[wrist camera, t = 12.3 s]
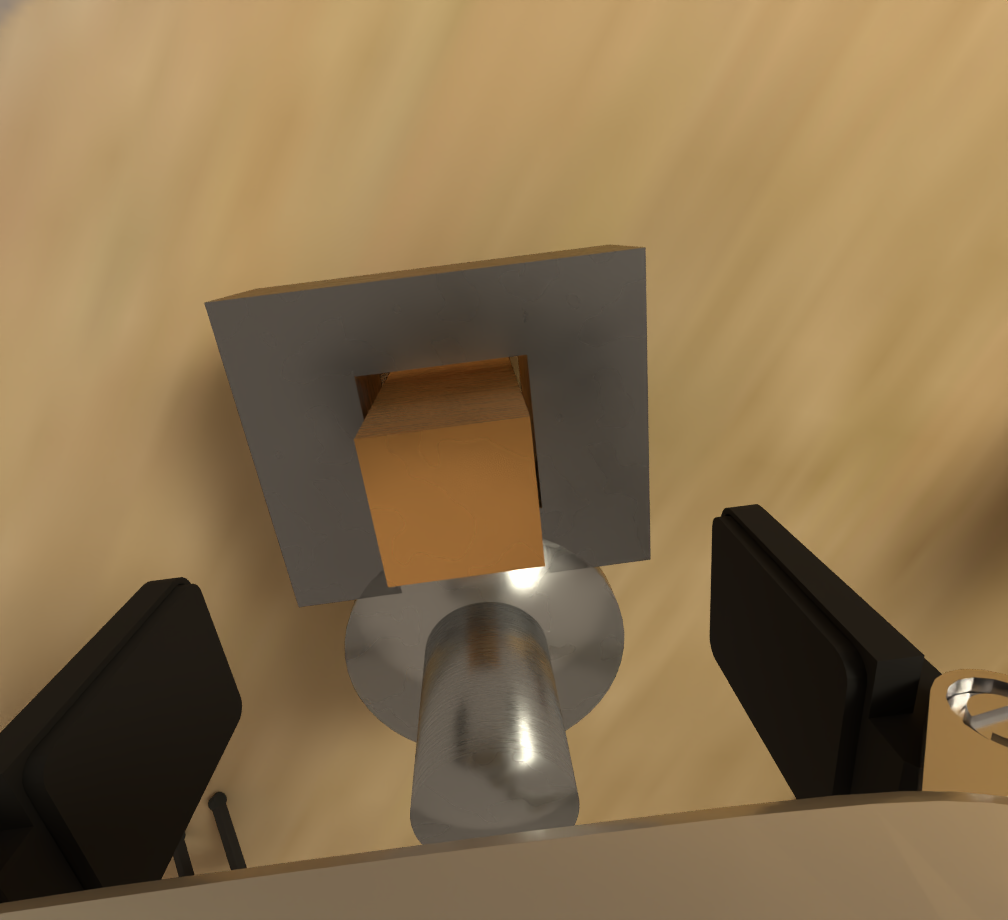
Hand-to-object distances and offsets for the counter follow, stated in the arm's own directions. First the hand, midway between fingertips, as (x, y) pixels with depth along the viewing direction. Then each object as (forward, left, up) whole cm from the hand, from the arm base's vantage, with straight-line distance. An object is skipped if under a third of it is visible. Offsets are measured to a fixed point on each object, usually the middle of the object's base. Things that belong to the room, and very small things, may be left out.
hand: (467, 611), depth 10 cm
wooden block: (0, 0, -16) cm, 16 cm away
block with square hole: (0, +4, -16) cm, 16 cm away
